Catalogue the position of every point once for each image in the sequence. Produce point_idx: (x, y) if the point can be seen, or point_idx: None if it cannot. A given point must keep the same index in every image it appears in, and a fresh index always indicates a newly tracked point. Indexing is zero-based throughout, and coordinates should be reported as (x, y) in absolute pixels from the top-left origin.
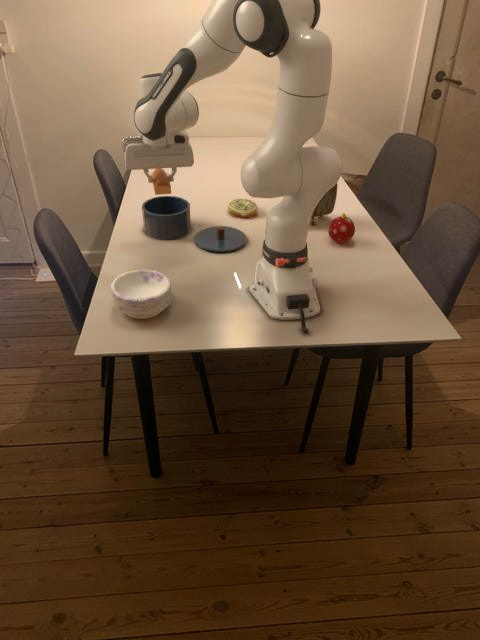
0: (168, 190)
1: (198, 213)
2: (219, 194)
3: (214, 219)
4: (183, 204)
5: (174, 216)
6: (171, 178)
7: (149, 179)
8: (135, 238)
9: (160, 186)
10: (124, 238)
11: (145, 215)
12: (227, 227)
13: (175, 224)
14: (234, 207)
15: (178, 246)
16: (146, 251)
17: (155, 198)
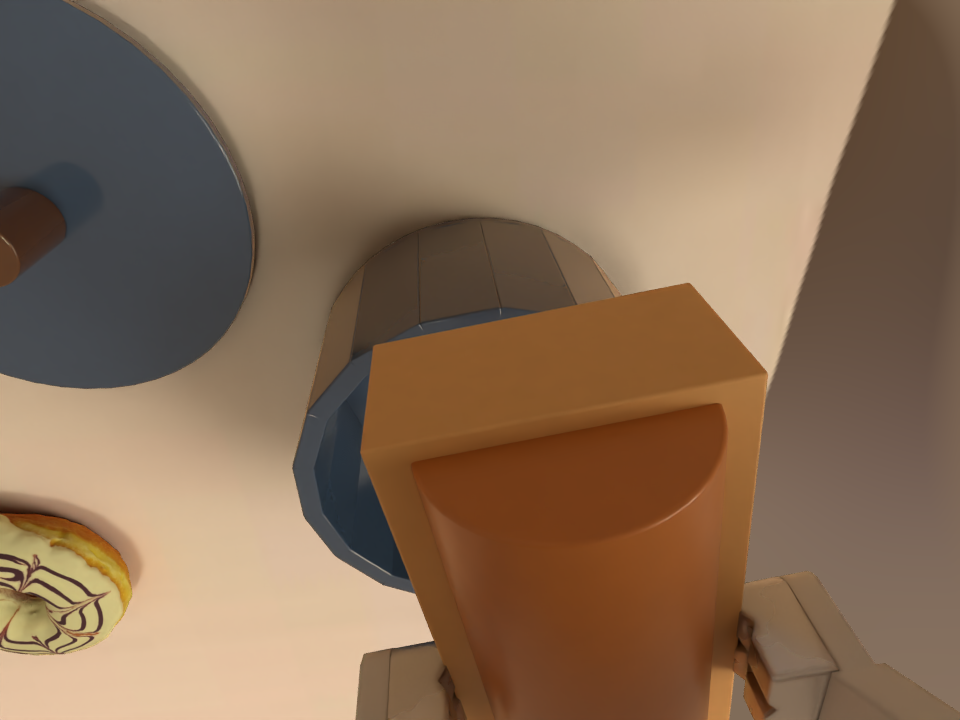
0: (423, 376)
1: (313, 532)
2: (244, 689)
3: (196, 482)
4: (371, 532)
5: (404, 322)
6: (396, 705)
7: (830, 632)
8: (692, 230)
9: (617, 420)
10: (766, 227)
11: None
12: (40, 372)
13: (401, 286)
14: (49, 570)
15: (370, 110)
16: (624, 16)
17: None
